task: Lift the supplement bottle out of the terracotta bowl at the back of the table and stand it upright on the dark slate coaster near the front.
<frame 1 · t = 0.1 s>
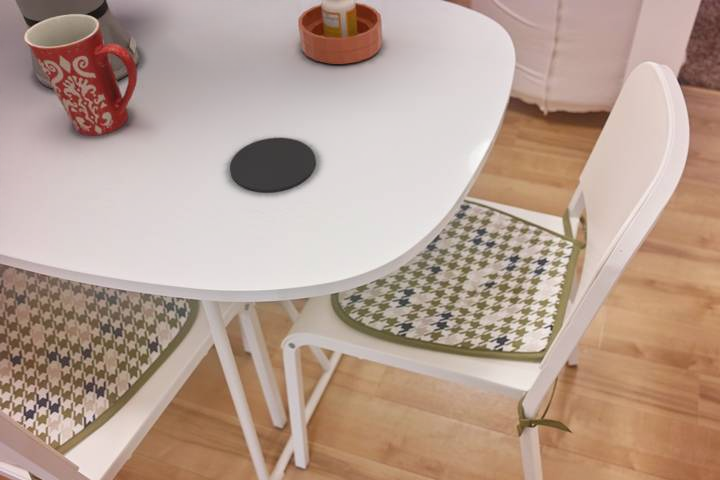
bowl: (341, 46, 101), on the table
supplement bottle: (341, 44, 101), resting on bowl
coaster: (273, 165, 79), on the table
mug: (113, 124, 86), on the table
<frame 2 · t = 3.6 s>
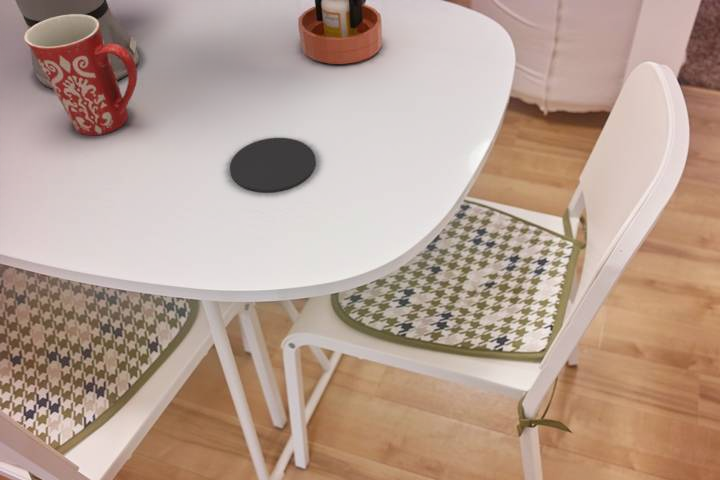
hand: (339, 20, 98), 4 cm above the table, tool pointing down, fingers closed on supplement bottle, 5 cm apart
supplement bottle: (341, 44, 101), resting on bowl, touching gripper
everything else where it was.
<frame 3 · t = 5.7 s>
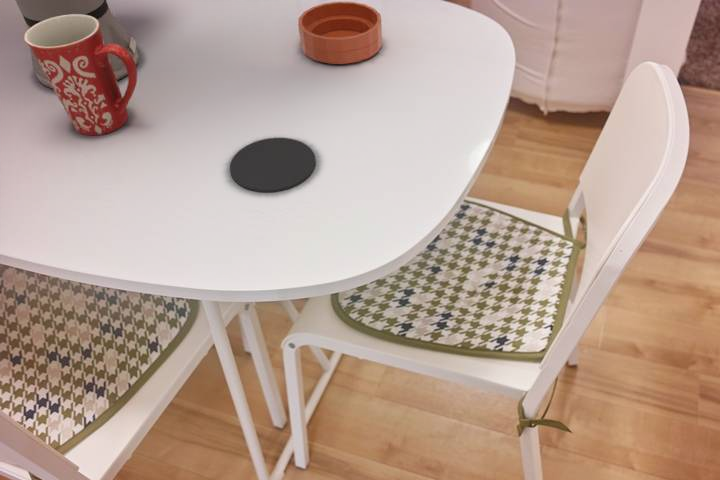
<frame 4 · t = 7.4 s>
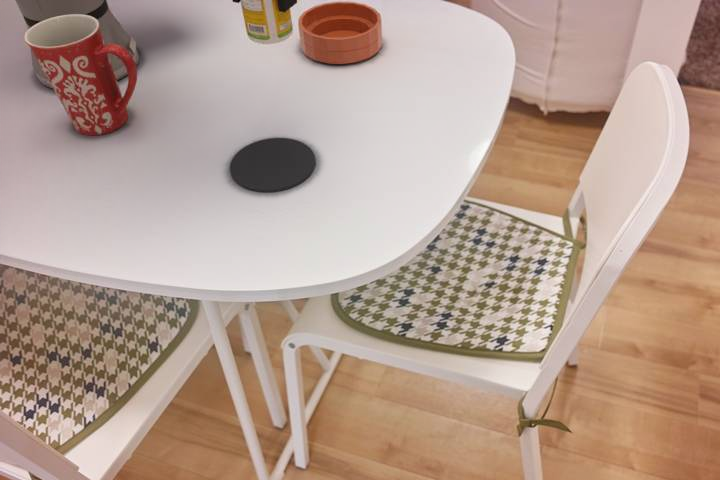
hand: (264, 1, 69), 19 cm above the table, tool pointing down, fingers closed on supplement bottle, 5 cm apart
supplement bottle: (270, 36, 72), point 15 cm above the table, touching gripper
everything else where it was.
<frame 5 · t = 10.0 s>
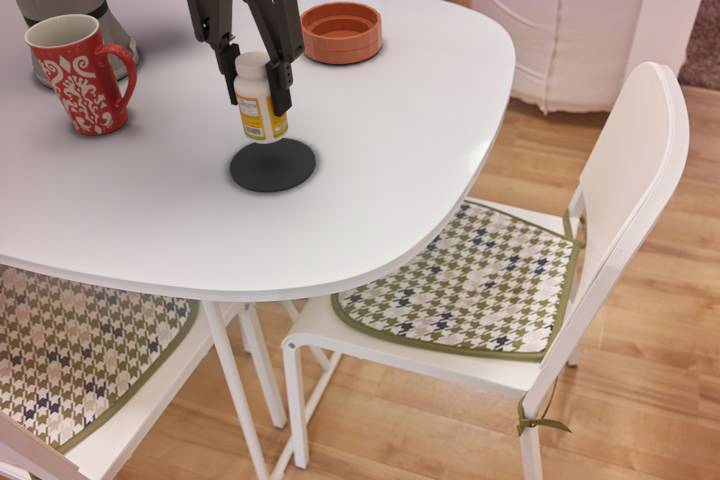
hand: (261, 104, 73), 9 cm above the table, tool pointing down, fingers closed on supplement bottle, 5 cm apart
supplement bottle: (267, 133, 76), point 5 cm above the table, touching gripper
everything else where it was.
when the fingers open (4 cm above the table, at t = 11.5 s): supplement bottle stays where it is, resting on coaster.
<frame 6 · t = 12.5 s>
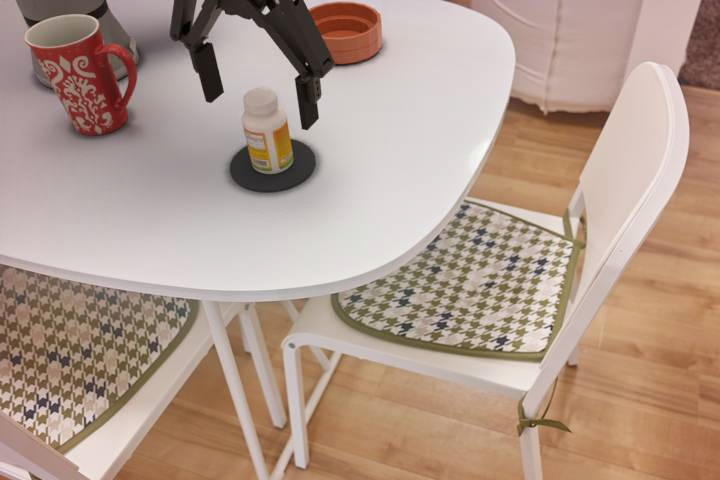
hand: (261, 110, 74), 8 cm above the table, tool pointing down, fingers open, 13 cm apart
supplement bottle: (273, 163, 79), resting on coaster
everything else where it was.
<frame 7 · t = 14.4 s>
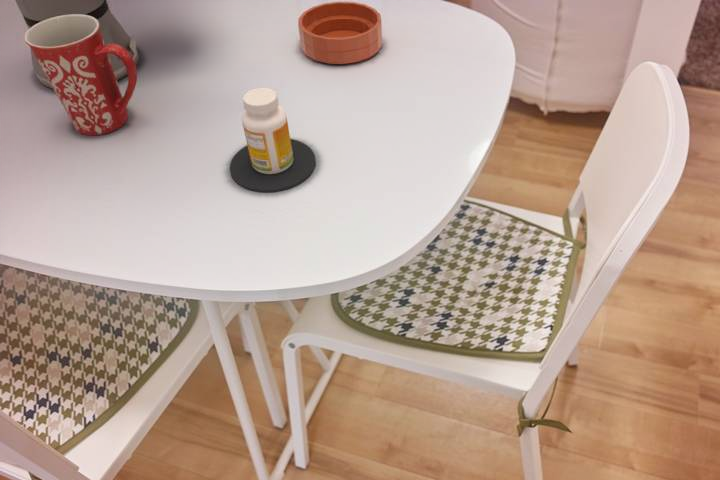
nothing on the table moved.
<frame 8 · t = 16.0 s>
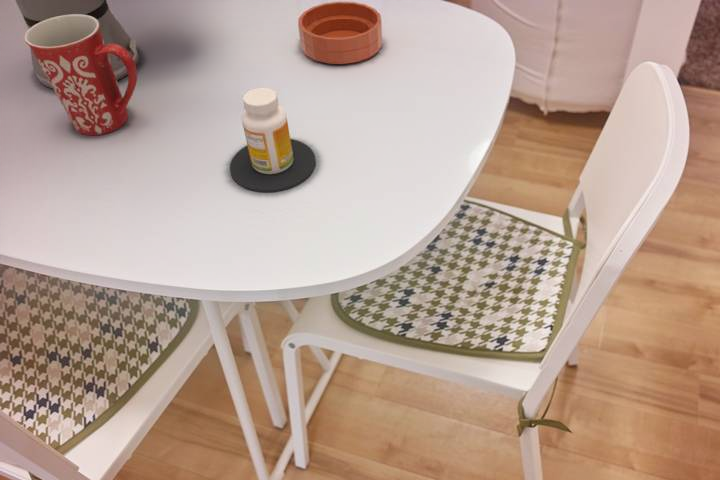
nothing on the table moved.
at the end: supplement bottle 0.0 cm off-centre on the coaster, point 0.2 cm above the coaster's base; supplement bottle tilted 0°; supplement bottle touching coaster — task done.
